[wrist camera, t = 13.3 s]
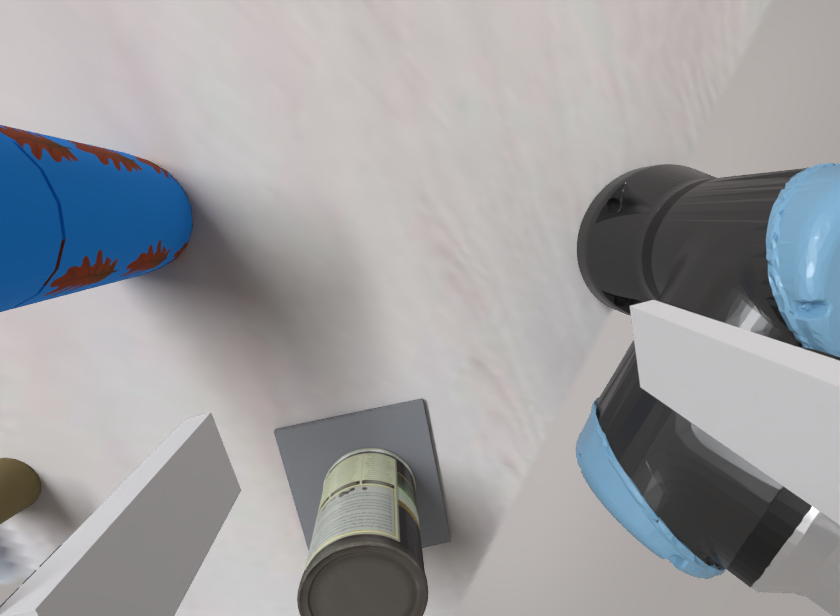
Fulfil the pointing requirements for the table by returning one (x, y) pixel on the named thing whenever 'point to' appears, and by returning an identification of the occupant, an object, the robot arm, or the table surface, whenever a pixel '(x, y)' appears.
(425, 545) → the placemat
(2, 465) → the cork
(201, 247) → the table surface
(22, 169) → the thermos
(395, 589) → the coffee can
